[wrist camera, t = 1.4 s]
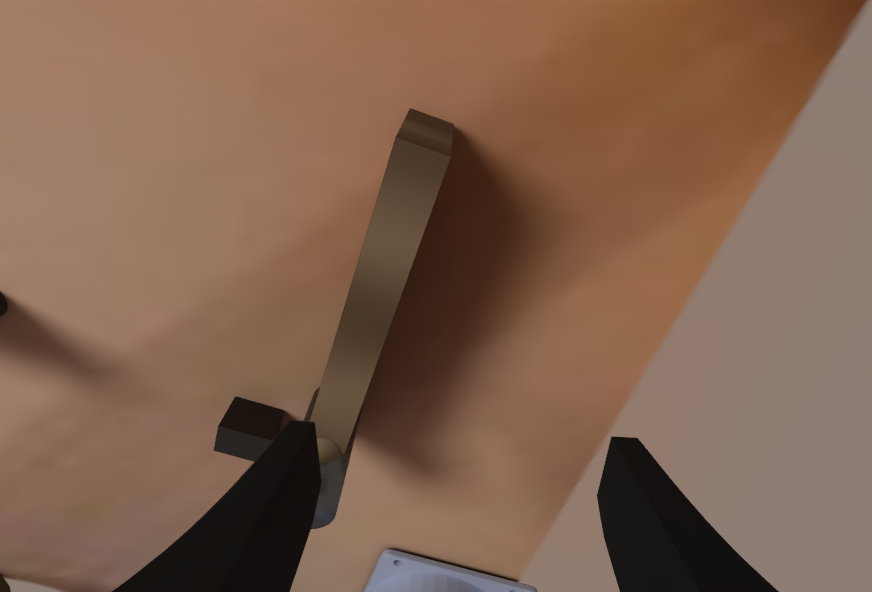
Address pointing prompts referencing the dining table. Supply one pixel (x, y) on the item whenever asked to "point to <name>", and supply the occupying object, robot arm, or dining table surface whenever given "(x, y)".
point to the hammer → (254, 431)
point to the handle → (381, 275)
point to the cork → (4, 585)
